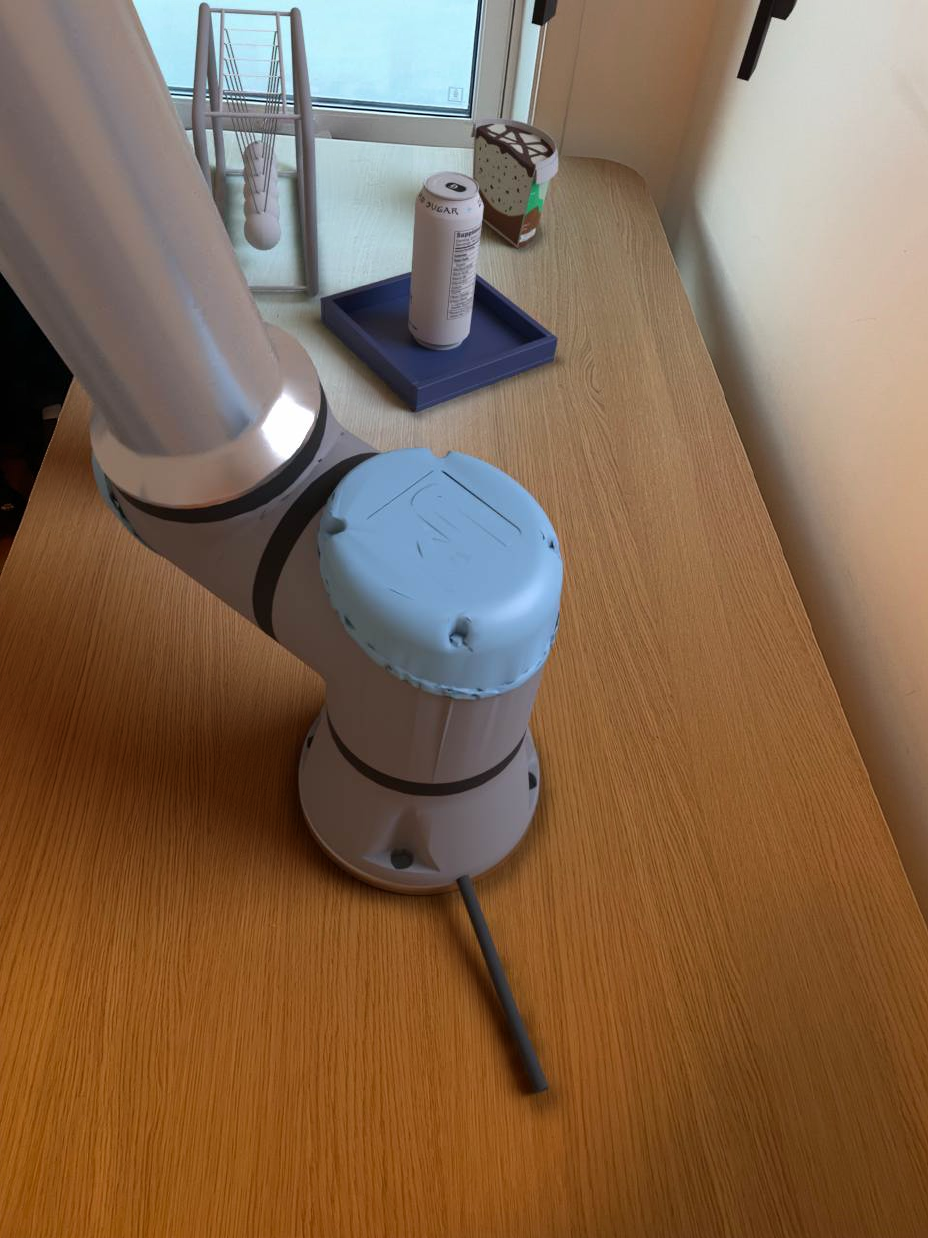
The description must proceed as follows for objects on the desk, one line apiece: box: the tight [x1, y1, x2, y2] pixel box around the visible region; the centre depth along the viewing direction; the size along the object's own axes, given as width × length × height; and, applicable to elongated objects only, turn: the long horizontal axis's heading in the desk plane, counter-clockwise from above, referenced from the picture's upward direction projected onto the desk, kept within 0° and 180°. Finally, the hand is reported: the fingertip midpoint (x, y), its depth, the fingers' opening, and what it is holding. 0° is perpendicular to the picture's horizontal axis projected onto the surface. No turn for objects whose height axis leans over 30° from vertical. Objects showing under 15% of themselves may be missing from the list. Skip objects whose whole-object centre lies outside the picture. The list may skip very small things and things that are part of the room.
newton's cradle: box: [191, 2, 320, 298], centre depth 96 cm, size 30×10×18 cm, turn 9°
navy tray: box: [320, 271, 559, 413], centre depth 92 cm, size 17×17×3 cm
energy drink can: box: [408, 170, 484, 350], centre depth 87 cm, size 6×6×15 cm
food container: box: [470, 117, 559, 249], centre depth 106 cm, size 12×6×10 cm, turn 34°
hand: (642, 46), depth 60 cm, fingers open, 13 cm apart
